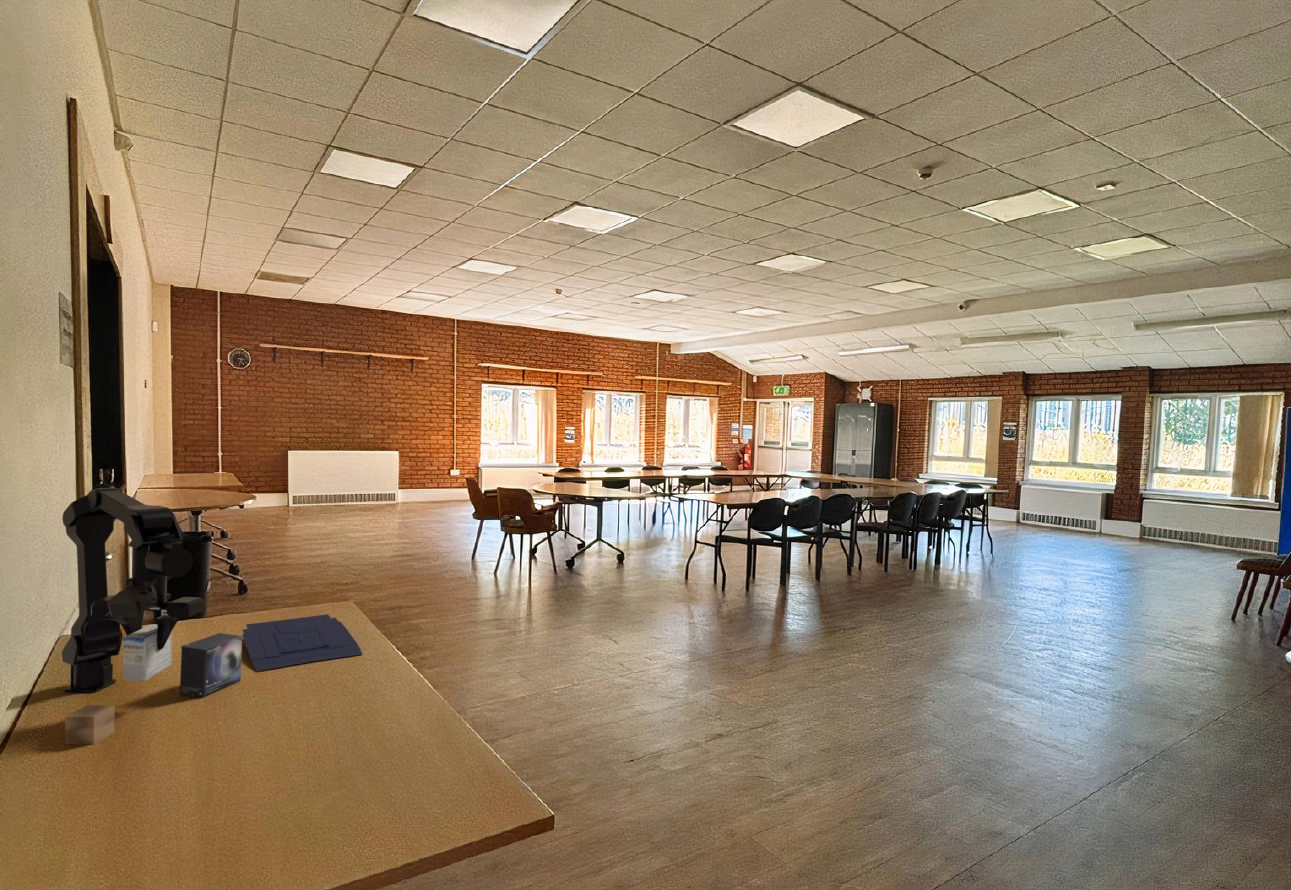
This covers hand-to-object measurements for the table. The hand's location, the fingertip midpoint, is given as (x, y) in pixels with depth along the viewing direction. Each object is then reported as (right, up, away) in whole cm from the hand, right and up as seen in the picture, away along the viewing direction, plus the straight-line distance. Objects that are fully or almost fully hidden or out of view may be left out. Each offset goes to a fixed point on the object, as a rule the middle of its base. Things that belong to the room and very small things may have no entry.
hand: (148, 649), depth 138 cm
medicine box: (0, -5, 0) cm, 5 cm away
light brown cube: (-2, -13, -12) cm, 17 cm away
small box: (+4, -13, +13) cm, 19 cm away
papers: (+9, -12, +42) cm, 45 cm away
